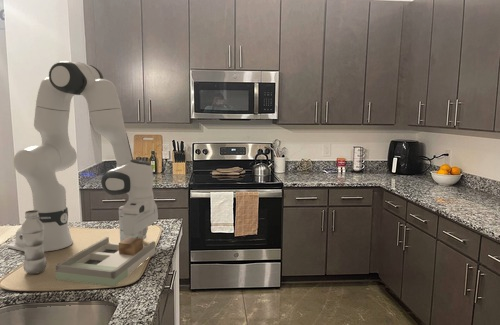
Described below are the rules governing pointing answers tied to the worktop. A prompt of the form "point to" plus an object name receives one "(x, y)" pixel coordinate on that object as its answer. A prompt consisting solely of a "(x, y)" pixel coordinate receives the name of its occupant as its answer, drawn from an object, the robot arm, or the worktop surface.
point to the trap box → (102, 264)
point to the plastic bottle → (33, 243)
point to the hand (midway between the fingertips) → (142, 239)
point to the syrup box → (122, 235)
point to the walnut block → (130, 246)
